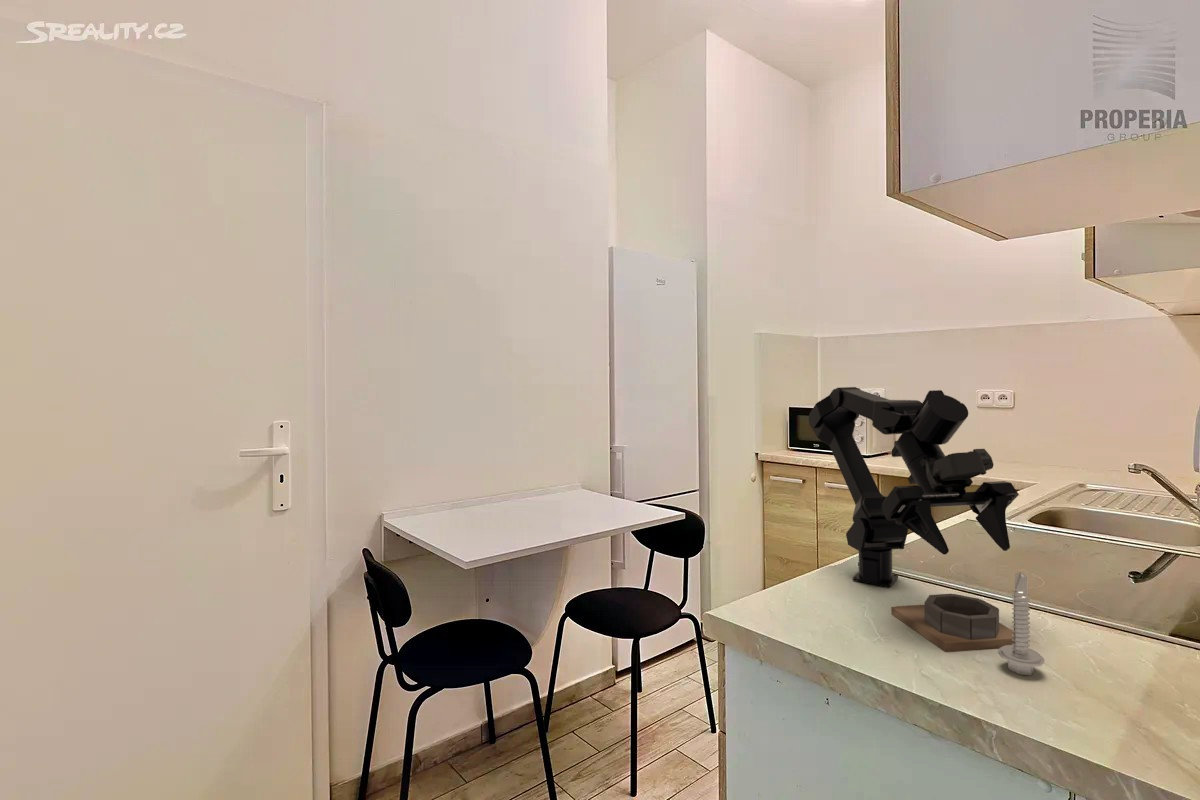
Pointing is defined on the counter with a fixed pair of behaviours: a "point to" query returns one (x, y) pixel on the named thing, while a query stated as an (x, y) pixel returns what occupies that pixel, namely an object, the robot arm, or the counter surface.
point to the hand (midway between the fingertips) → (976, 551)
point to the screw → (1021, 633)
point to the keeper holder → (956, 622)
